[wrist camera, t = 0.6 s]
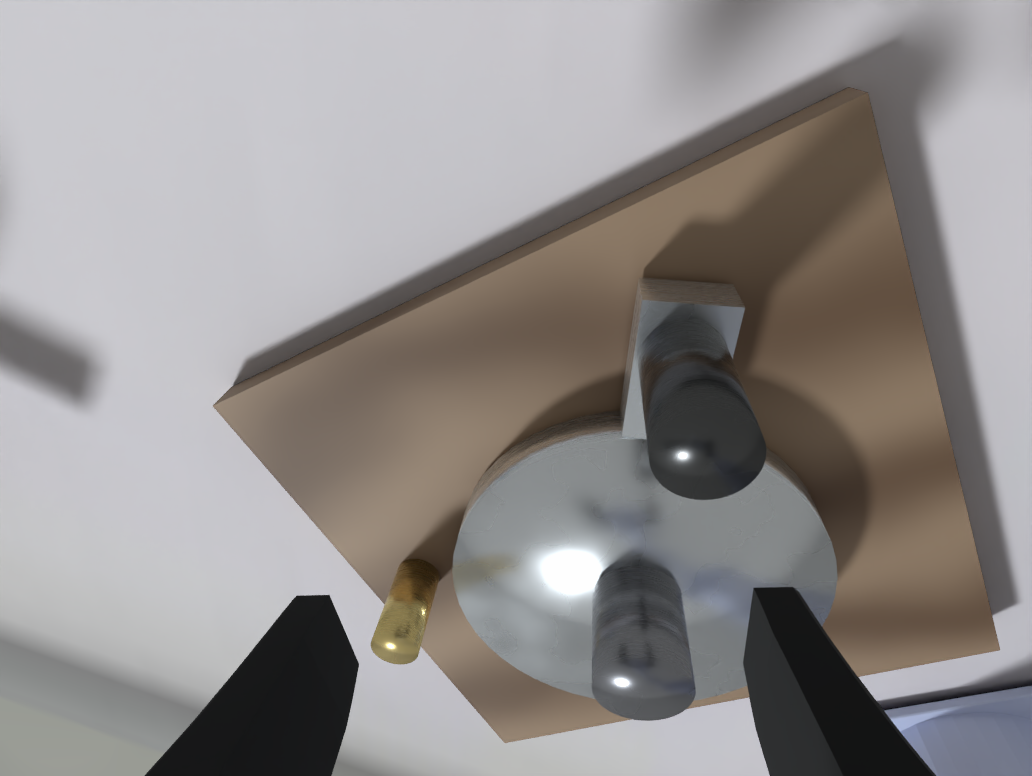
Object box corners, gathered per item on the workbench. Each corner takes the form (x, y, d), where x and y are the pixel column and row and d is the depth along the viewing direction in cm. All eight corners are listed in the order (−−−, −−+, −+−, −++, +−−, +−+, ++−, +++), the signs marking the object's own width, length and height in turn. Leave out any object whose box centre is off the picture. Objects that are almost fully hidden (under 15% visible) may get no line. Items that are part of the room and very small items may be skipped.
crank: (769, 685, 24) (812, 849, 19) (462, 647, 25) (431, 795, 20) (929, 298, 15) (1074, 420, 11) (456, 264, 16) (399, 363, 12)
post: (694, 614, 20) (710, 710, 17) (613, 634, 21) (615, 727, 18) (662, 555, 19) (673, 648, 16) (577, 578, 19) (575, 670, 17)
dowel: (447, 582, 23) (427, 658, 20) (412, 593, 24) (388, 668, 21) (425, 553, 22) (401, 628, 20) (389, 565, 23) (361, 639, 20)
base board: (981, 621, 23) (1000, 650, 22) (508, 717, 29) (504, 743, 28) (848, 87, 14) (867, 92, 13) (231, 387, 21) (212, 405, 20)
